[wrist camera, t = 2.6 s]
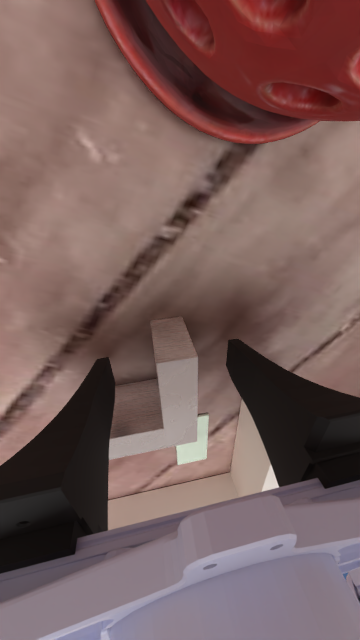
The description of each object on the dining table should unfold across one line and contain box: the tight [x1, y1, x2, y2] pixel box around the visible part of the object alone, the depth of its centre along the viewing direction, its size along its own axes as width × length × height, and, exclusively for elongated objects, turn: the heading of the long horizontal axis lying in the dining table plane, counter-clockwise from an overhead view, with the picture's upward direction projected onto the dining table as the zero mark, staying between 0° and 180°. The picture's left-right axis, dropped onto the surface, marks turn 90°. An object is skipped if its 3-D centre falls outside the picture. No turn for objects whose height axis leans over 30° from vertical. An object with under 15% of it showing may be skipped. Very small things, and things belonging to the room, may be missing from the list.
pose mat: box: [176, 413, 209, 465], centre depth 21 cm, size 8×7×1 cm
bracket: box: [109, 317, 198, 460], centre depth 14 cm, size 7×6×4 cm
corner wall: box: [108, 399, 279, 530], centre depth 19 cm, size 16×18×5 cm
